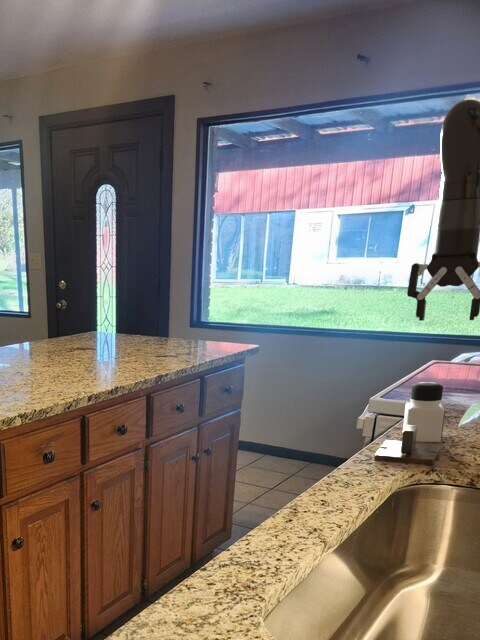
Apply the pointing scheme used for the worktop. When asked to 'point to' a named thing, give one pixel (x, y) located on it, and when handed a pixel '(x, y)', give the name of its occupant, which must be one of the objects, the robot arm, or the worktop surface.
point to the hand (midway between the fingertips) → (446, 320)
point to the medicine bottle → (426, 411)
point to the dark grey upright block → (409, 439)
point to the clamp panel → (419, 455)
